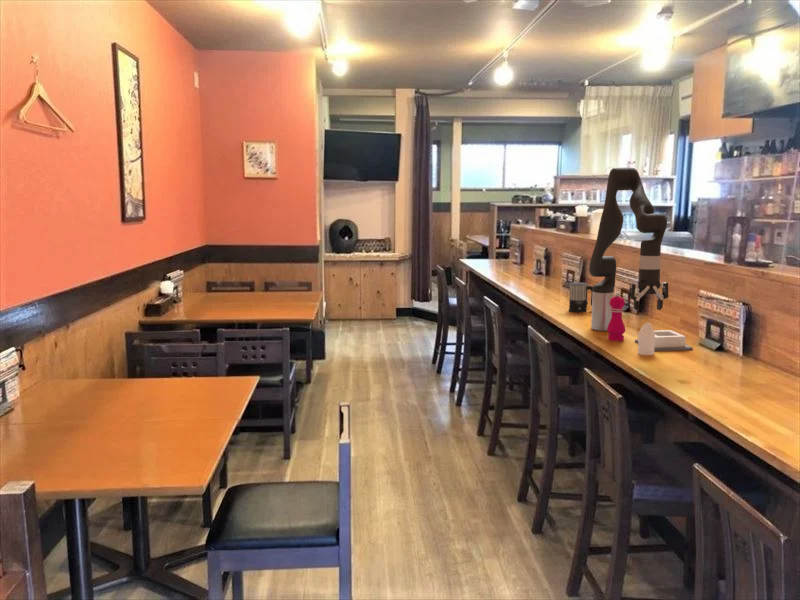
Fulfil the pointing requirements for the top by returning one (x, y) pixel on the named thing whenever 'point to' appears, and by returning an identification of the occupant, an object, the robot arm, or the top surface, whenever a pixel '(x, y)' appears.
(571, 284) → the milk frother
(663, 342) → the holder
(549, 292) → the top surface
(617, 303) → the pepper mill
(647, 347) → the white pointed cylinder
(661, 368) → the top surface
